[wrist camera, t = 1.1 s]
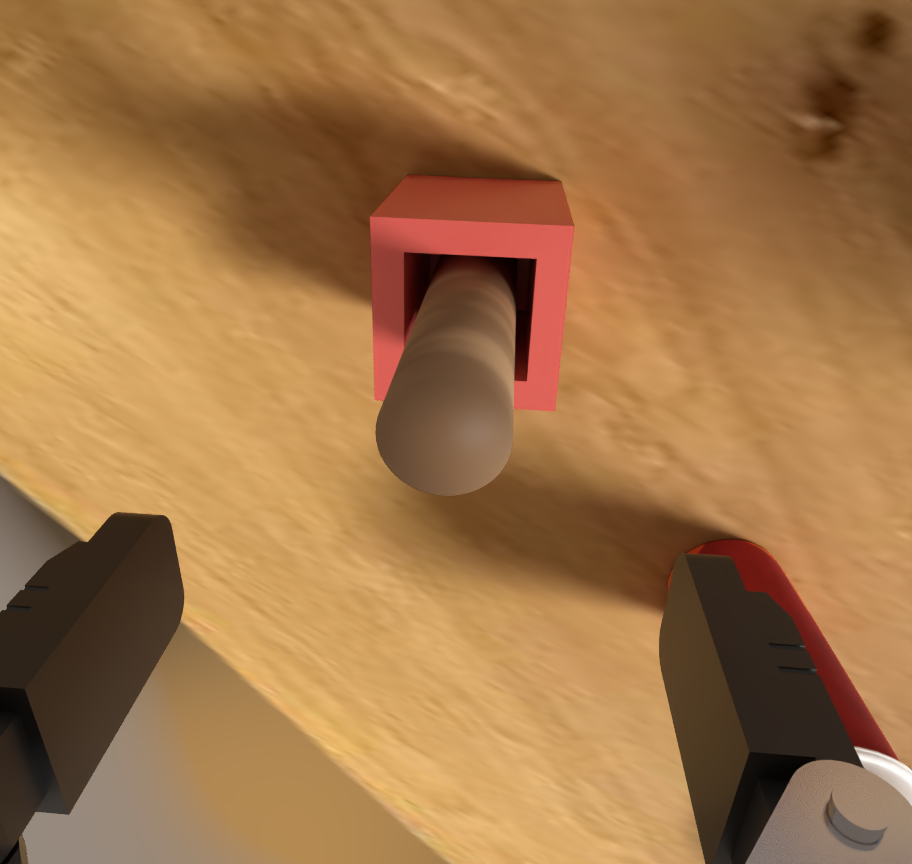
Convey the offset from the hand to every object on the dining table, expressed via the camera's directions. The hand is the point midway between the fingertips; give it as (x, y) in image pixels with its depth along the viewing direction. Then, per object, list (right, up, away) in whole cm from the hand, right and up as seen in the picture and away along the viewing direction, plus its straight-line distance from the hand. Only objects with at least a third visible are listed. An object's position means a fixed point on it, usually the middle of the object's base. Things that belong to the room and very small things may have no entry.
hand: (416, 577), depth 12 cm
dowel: (+2, +9, +17) cm, 20 cm away
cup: (+2, +10, +18) cm, 21 cm away
